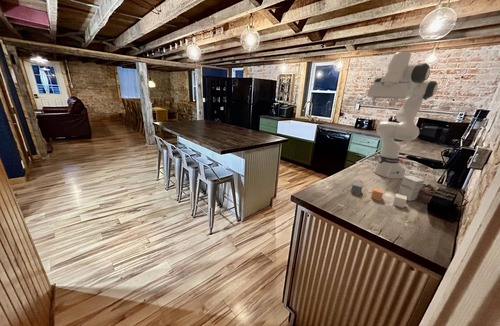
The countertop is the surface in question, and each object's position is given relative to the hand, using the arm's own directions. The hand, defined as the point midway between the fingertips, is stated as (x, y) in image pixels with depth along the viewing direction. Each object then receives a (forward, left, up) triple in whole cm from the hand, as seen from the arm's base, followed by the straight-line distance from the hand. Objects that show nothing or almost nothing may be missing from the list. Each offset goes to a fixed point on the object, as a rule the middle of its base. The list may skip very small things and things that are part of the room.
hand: (381, 105), depth 116 cm
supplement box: (-22, +13, -51) cm, 57 cm away
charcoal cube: (+7, +10, -51) cm, 53 cm away
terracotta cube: (-2, +16, -51) cm, 54 cm away
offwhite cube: (-11, +22, -51) cm, 57 cm away
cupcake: (-30, +15, -51) cm, 61 cm away
